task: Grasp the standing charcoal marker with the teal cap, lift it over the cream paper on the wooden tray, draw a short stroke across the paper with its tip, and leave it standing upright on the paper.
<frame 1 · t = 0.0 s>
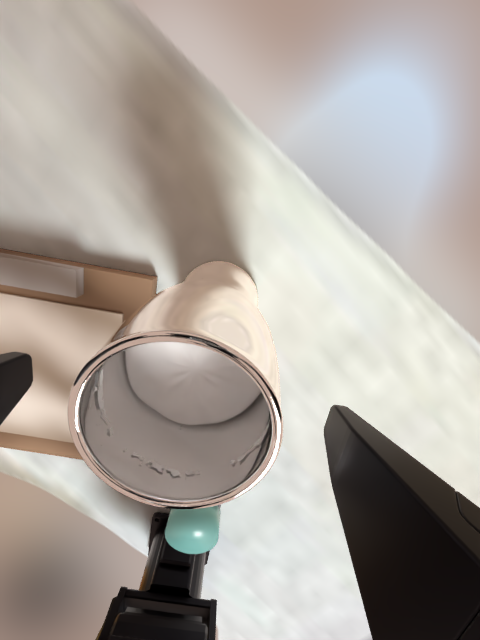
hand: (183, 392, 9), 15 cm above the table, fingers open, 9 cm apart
metal tumbler: (219, 299, 23), on the table
marker: (209, 434, 27), on the table
wooden tray: (55, 362, 25), on the table
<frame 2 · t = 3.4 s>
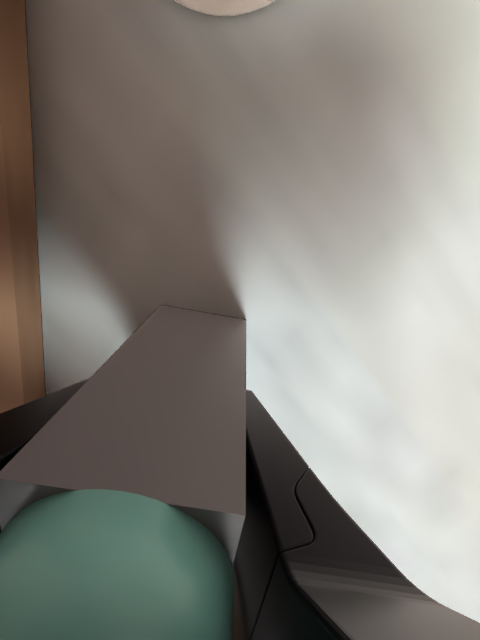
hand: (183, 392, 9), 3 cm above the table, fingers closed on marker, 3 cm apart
marker: (198, 350, 11), on the table, touching gripper
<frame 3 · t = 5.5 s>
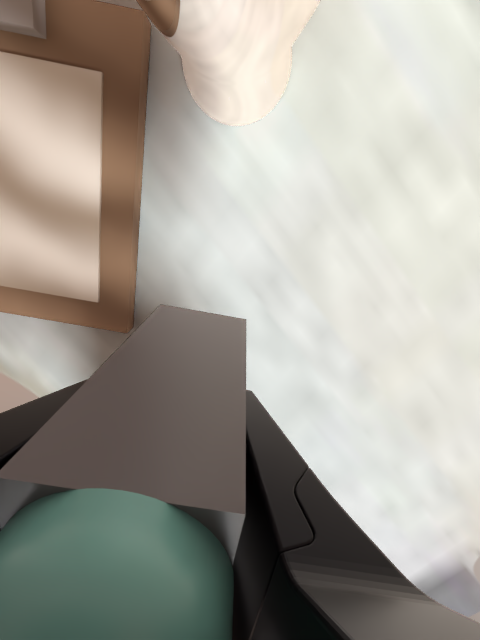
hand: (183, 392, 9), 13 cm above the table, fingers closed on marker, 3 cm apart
metal tumbler: (237, 66, 17), on the table
marker: (198, 350, 11), point 10 cm above the table, touching gripper
wooden tray: (15, 176, 19), on the table
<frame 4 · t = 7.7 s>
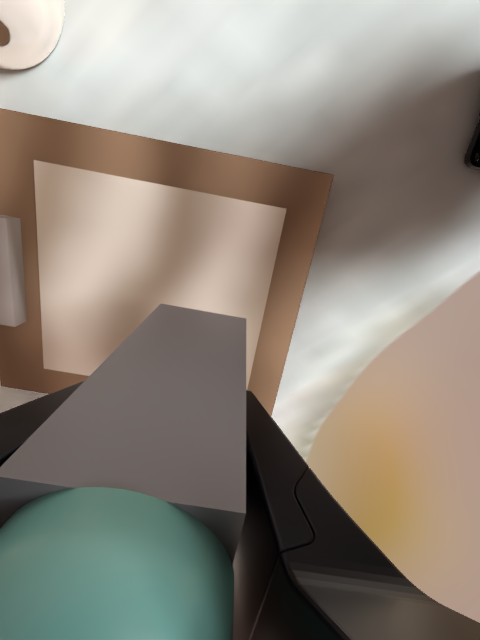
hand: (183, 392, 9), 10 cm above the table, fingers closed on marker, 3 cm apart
marker: (198, 349, 11), point 7 cm above the table, touching gripper
wooden tray: (151, 289, 18), on the table
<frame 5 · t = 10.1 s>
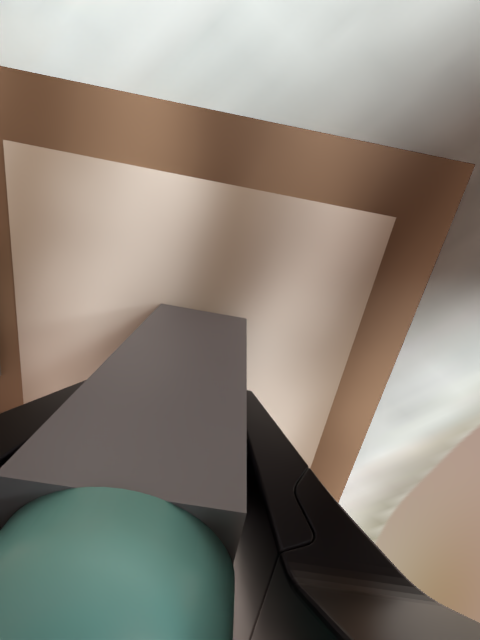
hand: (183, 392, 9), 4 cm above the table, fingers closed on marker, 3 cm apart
marker: (198, 349, 11), point 2 cm above the table, touching gripper
wooden tray: (178, 329, 13), on the table
when the fingers open (4 cm above the table, at t = 12.2 s): marker stays where it is, resting on wooden tray.
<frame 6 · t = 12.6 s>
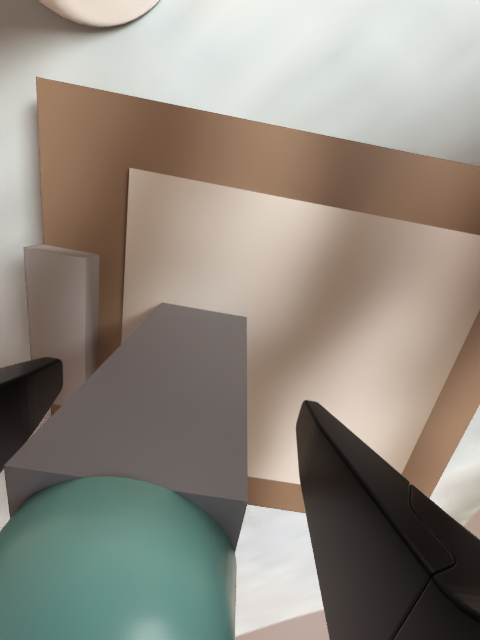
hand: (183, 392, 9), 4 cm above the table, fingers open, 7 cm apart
marker: (199, 348, 12), point 1 cm above the table, touching wooden tray
wooden tray: (269, 347, 13), on the table
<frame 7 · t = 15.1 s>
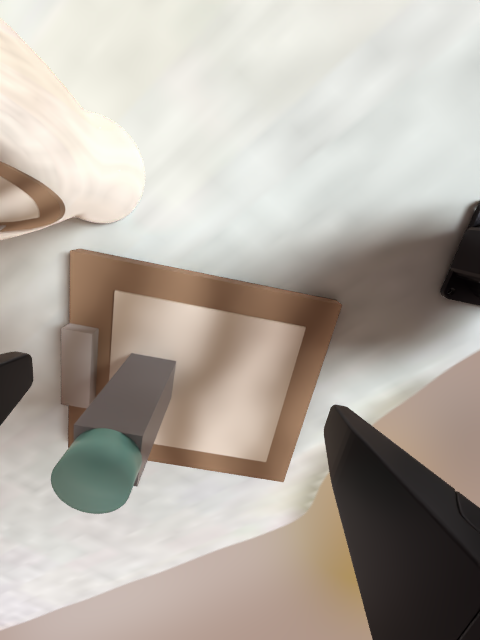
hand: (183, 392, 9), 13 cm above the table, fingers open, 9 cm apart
metal tumbler: (98, 172, 18), on the table
marker: (151, 376, 21), point 1 cm above the table, touching wooden tray
wooden tray: (194, 374, 23), on the table
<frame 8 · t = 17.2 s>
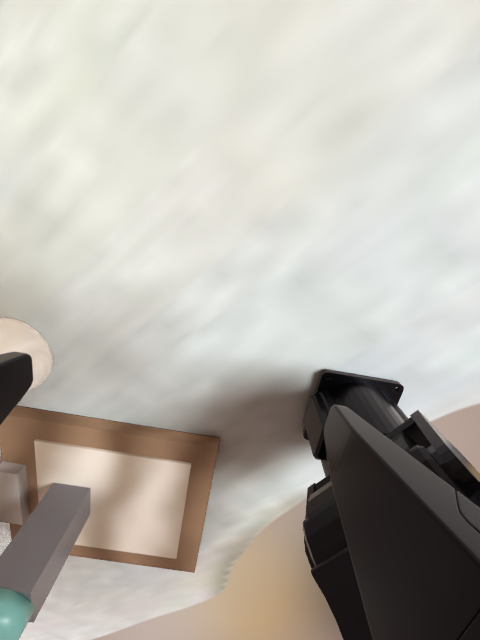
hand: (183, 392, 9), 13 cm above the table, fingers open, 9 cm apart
metal tumbler: (16, 352, 23), on the table
marker: (72, 498, 26), point 1 cm above the table, touching wooden tray
wooden tray: (112, 490, 28), on the table
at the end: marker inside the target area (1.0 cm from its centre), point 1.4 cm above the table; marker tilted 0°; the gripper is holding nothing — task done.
